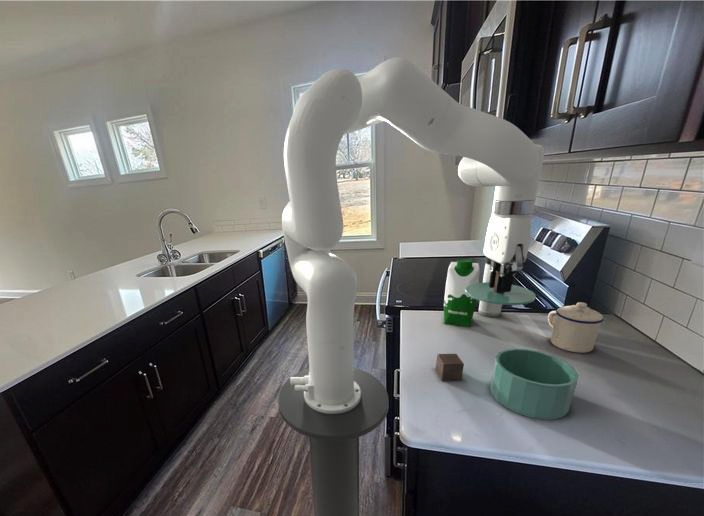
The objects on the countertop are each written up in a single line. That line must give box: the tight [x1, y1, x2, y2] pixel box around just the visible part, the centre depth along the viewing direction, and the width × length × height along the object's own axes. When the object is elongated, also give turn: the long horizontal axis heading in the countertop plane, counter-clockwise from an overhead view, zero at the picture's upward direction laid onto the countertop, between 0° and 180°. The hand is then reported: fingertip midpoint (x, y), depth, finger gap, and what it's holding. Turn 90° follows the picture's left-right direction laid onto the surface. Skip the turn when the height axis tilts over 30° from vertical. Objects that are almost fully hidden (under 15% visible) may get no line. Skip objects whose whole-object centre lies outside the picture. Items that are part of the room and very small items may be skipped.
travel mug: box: [477, 257, 510, 318], centre depth 99 cm, size 6×7×20 cm
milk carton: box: [443, 258, 481, 328], centre depth 96 cm, size 9×9×20 cm
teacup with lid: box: [547, 301, 604, 354], centre depth 81 cm, size 12×9×12 cm
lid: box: [465, 270, 537, 306], centre depth 74 cm, size 14×14×6 cm
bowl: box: [490, 348, 580, 421], centre depth 64 cm, size 13×13×8 cm
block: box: [435, 353, 465, 382], centre depth 73 cm, size 4×4×4 cm
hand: (499, 288), depth 74 cm, fingers closed on lid, 2 cm apart
